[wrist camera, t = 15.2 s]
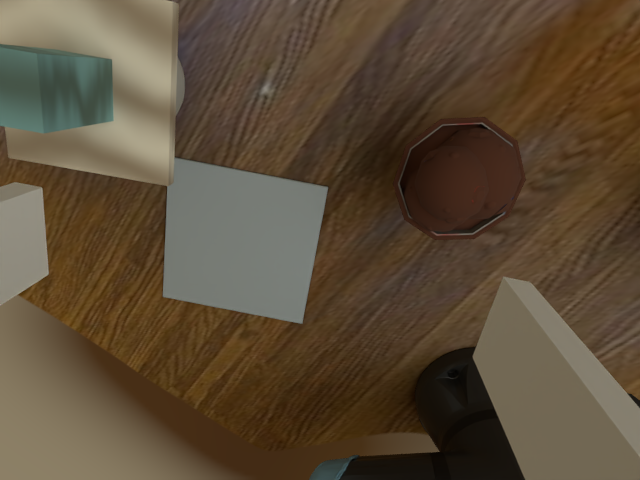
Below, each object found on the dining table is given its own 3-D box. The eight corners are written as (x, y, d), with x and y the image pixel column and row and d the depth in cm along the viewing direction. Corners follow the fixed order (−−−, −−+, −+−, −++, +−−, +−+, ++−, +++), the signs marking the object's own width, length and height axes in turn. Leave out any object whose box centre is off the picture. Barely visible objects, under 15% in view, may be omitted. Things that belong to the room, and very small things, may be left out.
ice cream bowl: (404, 223, 47) (426, 284, 33) (373, 129, 44) (383, 153, 30) (499, 192, 45) (564, 243, 31) (474, 91, 42) (535, 97, 28)
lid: (173, 183, 39) (117, 215, 30) (18, 155, 39) (-86, 179, 30) (179, 4, 34) (112, -24, 24) (-2, -28, 34) (-137, -67, 25)
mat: (302, 322, 53) (302, 323, 53) (164, 295, 53) (162, 296, 53) (328, 186, 46) (328, 187, 46) (170, 156, 46) (168, 156, 46)
